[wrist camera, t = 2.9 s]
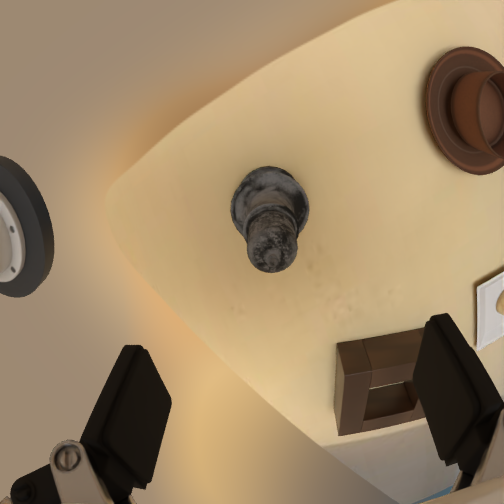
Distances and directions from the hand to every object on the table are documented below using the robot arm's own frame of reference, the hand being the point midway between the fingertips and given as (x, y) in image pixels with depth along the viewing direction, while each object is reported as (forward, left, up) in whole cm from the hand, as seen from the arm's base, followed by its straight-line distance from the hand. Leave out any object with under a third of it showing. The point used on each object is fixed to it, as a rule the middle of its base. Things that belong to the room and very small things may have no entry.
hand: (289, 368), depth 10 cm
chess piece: (0, 0, -19) cm, 19 cm away
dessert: (+30, -16, -19) cm, 39 cm away
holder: (+12, -24, -19) cm, 33 cm away
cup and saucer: (+20, +7, -19) cm, 28 cm away
